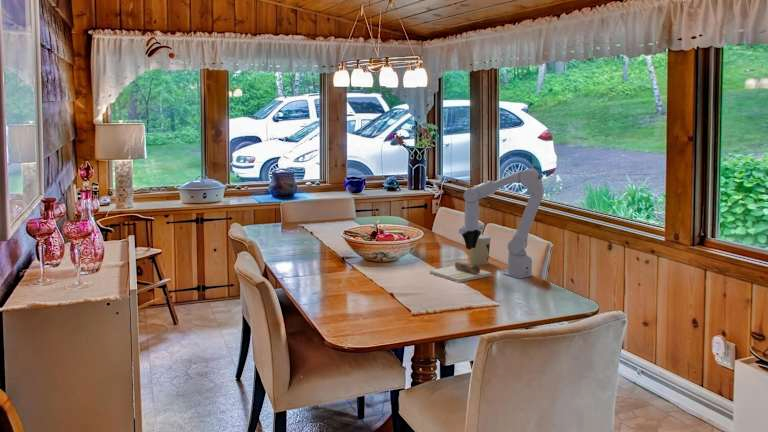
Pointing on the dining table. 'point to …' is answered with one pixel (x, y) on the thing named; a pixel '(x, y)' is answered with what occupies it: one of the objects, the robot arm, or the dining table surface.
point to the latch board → (458, 274)
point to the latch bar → (467, 267)
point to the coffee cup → (480, 251)
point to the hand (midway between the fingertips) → (470, 248)
